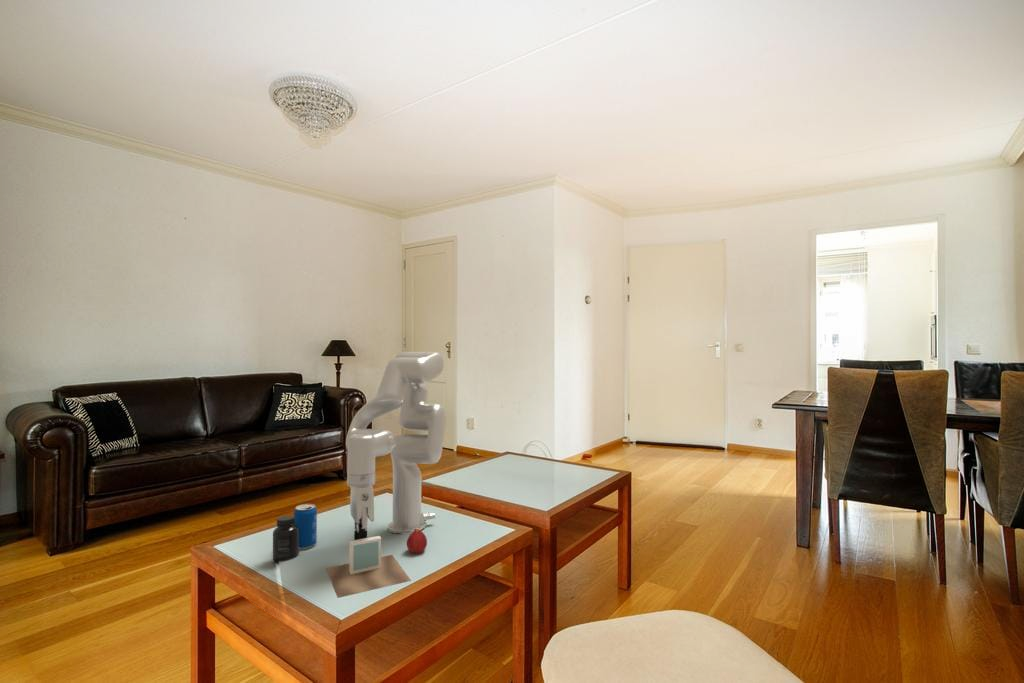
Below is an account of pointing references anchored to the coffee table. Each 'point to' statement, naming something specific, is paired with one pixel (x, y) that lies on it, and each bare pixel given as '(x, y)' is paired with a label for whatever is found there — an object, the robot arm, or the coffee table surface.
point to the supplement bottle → (285, 539)
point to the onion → (416, 541)
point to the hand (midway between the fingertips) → (360, 544)
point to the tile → (364, 554)
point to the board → (366, 577)
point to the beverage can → (306, 525)
